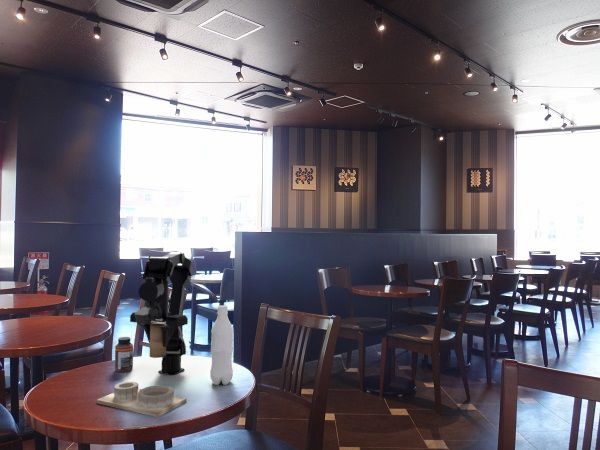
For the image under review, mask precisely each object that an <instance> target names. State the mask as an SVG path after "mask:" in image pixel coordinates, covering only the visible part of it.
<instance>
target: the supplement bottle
mask: <svg viewBox="0 0 600 450" xmlns="http://www.w3.org/2000/svg"><path fill="white" fill-rule="evenodd" d="M114 349H115V350H114V370H115V371H116V372H117V373H127V372H130V371H132V370H133V368H134V367H133V366H134V344H133V343H132V342H131V337H130V336H122V337H121V336H120V337H118V340H117V344H116V345H115V346H114Z"/></svg>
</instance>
